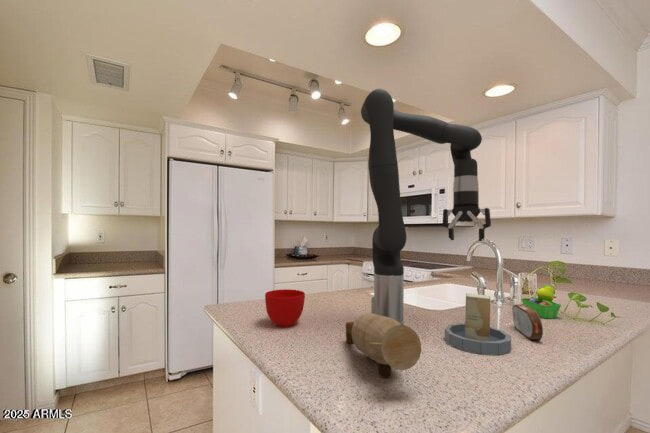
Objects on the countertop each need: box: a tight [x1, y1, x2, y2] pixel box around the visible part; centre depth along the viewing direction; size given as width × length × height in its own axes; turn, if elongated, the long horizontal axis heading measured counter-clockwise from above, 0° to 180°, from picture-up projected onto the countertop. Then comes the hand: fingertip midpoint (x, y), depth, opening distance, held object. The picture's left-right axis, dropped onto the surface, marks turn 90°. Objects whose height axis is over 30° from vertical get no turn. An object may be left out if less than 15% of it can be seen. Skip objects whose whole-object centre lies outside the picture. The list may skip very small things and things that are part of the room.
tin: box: [512, 303, 544, 341], centre depth 94 cm, size 15×3×8 cm, turn 168°
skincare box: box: [464, 293, 491, 341], centre depth 86 cm, size 6×4×12 cm
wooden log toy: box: [345, 312, 422, 378], centre depth 72 cm, size 10×12×30 cm
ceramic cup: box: [264, 288, 306, 328], centre depth 104 cm, size 13×17×10 cm
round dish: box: [444, 322, 512, 356], centre depth 86 cm, size 16×16×3 cm
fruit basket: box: [521, 284, 562, 319], centre depth 117 cm, size 11×9×11 cm
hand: (466, 240), depth 101 cm, fingers open, 8 cm apart
